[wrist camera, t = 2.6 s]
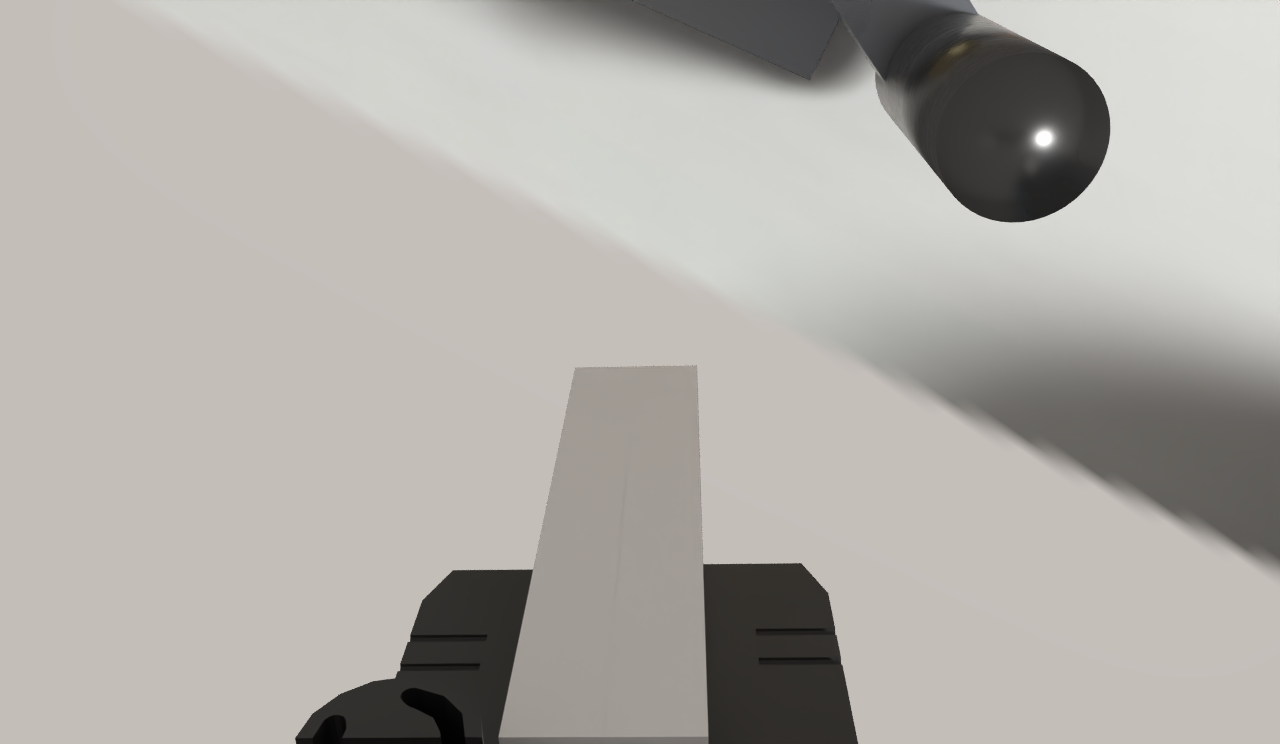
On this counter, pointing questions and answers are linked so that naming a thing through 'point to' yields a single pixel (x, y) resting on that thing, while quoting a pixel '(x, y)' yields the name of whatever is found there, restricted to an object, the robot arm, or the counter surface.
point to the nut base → (761, 27)
